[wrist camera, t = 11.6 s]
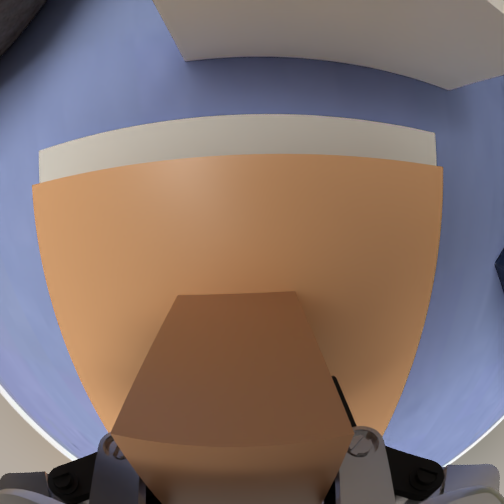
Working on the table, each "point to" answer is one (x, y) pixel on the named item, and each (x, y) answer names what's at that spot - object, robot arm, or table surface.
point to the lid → (241, 311)
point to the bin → (349, 34)
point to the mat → (237, 141)
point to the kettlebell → (16, 19)
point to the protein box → (500, 268)
